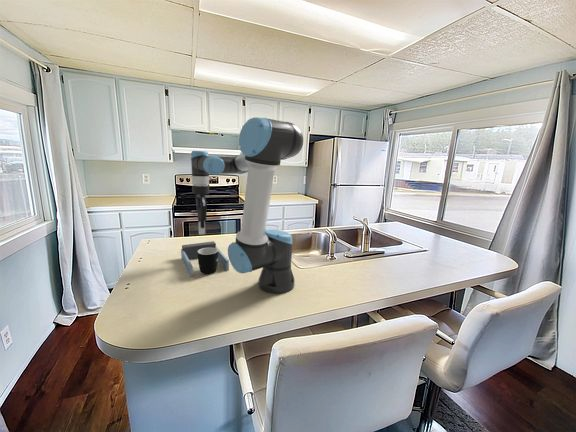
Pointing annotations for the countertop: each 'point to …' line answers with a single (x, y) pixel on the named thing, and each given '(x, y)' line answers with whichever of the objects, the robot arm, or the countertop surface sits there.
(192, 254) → the trap block
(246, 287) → the countertop surface
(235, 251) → the robot arm
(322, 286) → the countertop surface
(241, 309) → the countertop surface
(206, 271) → the mug
